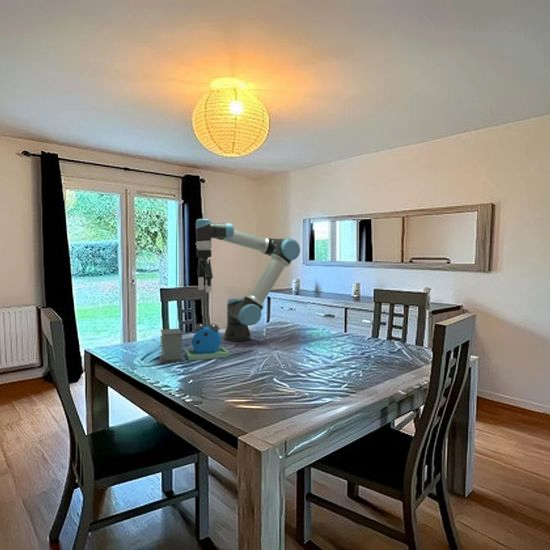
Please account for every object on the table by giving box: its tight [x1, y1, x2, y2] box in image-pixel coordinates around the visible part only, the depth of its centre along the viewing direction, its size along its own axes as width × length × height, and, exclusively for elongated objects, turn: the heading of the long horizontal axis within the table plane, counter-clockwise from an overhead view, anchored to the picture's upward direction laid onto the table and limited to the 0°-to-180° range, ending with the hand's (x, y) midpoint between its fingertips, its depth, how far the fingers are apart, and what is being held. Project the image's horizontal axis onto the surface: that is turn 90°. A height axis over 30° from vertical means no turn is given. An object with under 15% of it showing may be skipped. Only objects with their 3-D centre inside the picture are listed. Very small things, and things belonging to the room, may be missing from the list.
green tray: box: [184, 346, 230, 362], centre depth 196 cm, size 19×11×2 cm, turn 111°
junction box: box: [158, 328, 186, 364], centre depth 190 cm, size 10×12×13 cm
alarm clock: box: [191, 323, 222, 354], centre depth 195 cm, size 13×6×15 cm, turn 92°
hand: (204, 291), depth 210 cm, fingers open, 13 cm apart
